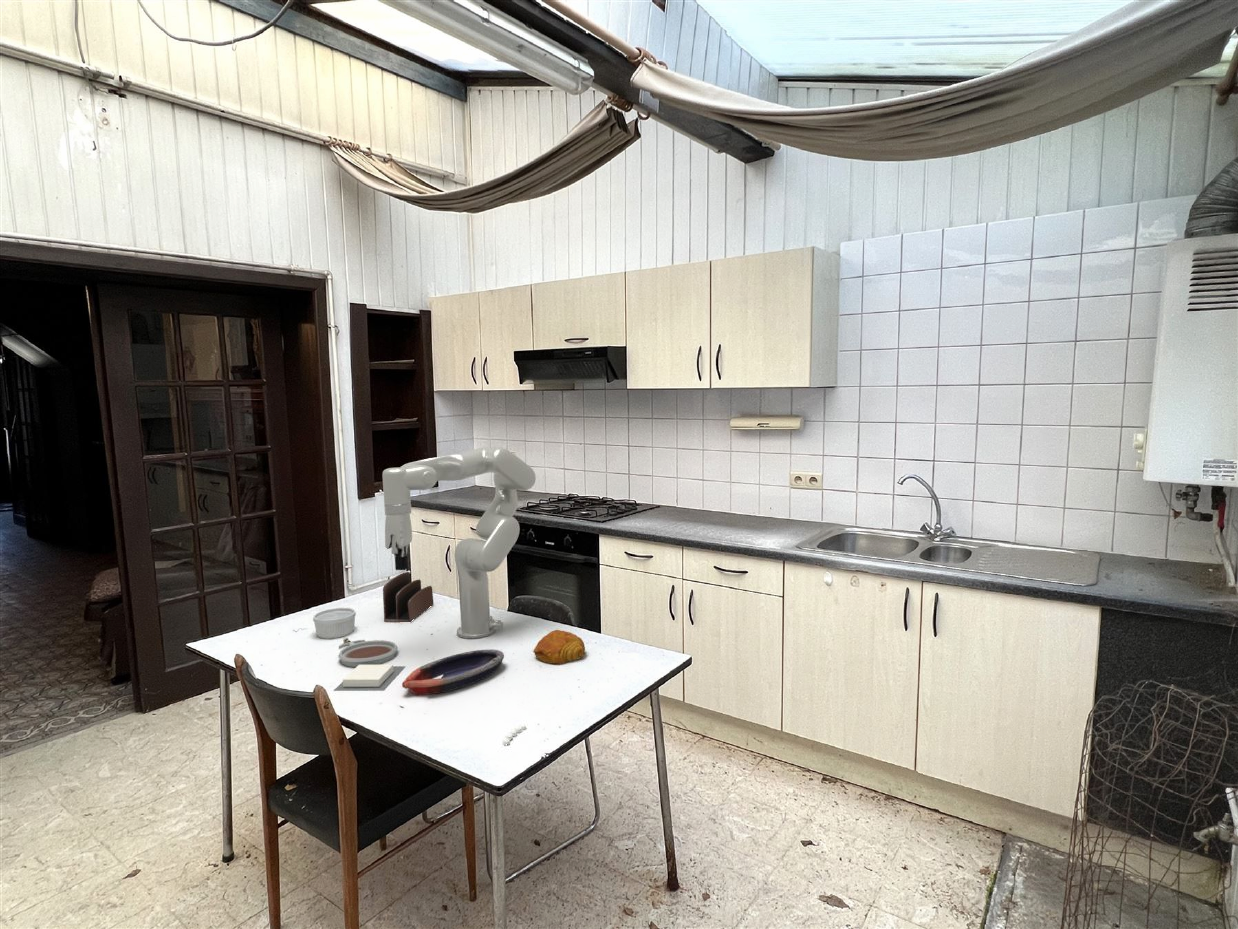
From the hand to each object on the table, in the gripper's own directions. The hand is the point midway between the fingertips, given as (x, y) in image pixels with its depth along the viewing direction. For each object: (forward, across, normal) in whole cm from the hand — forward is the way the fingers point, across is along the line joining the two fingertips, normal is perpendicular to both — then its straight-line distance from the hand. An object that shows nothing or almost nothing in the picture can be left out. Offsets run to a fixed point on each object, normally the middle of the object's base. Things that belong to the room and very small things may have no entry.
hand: (401, 569), depth 203 cm
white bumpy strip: (+28, +49, +43) cm, 71 cm away
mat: (+27, +17, -4) cm, 32 cm away
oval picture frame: (+27, -2, -15) cm, 31 cm away
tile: (+25, +13, -4) cm, 29 cm away
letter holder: (+28, -40, -14) cm, 51 cm away
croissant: (+28, 0, +46) cm, 54 cm away
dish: (+28, +17, +20) cm, 38 cm away
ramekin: (+27, -20, -32) cm, 47 cm away
